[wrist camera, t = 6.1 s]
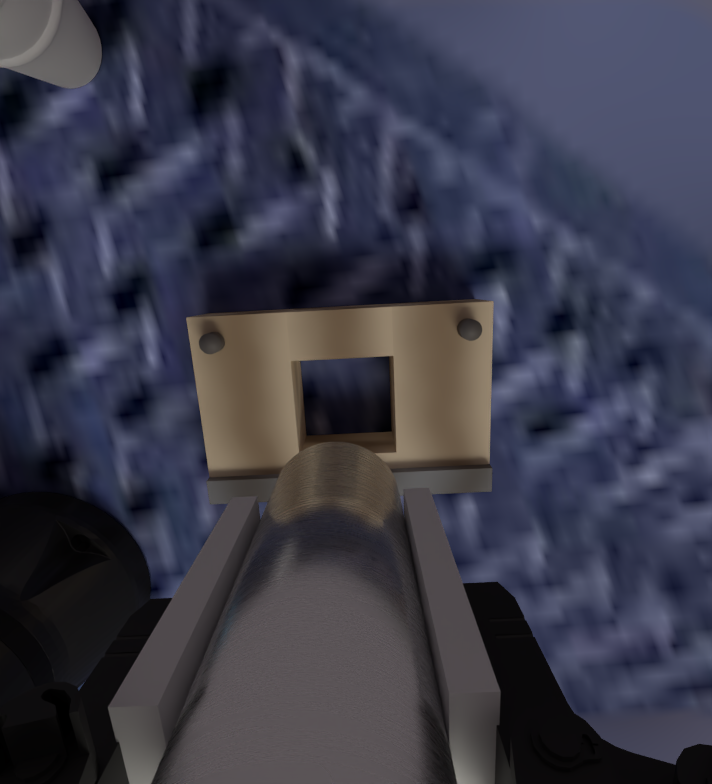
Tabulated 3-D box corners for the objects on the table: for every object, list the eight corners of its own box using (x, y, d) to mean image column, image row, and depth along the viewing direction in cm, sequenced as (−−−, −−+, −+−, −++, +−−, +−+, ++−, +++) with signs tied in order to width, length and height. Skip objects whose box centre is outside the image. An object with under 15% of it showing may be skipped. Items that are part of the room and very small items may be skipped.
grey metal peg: (280, 558, 16) (151, 1012, 6) (267, 444, 14) (83, 769, 5) (401, 553, 15) (474, 1003, 6) (397, 438, 14) (478, 754, 5)
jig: (230, 476, 32) (208, 510, 27) (209, 313, 29) (179, 318, 24) (472, 464, 32) (493, 497, 27) (475, 299, 29) (498, 301, 24)
